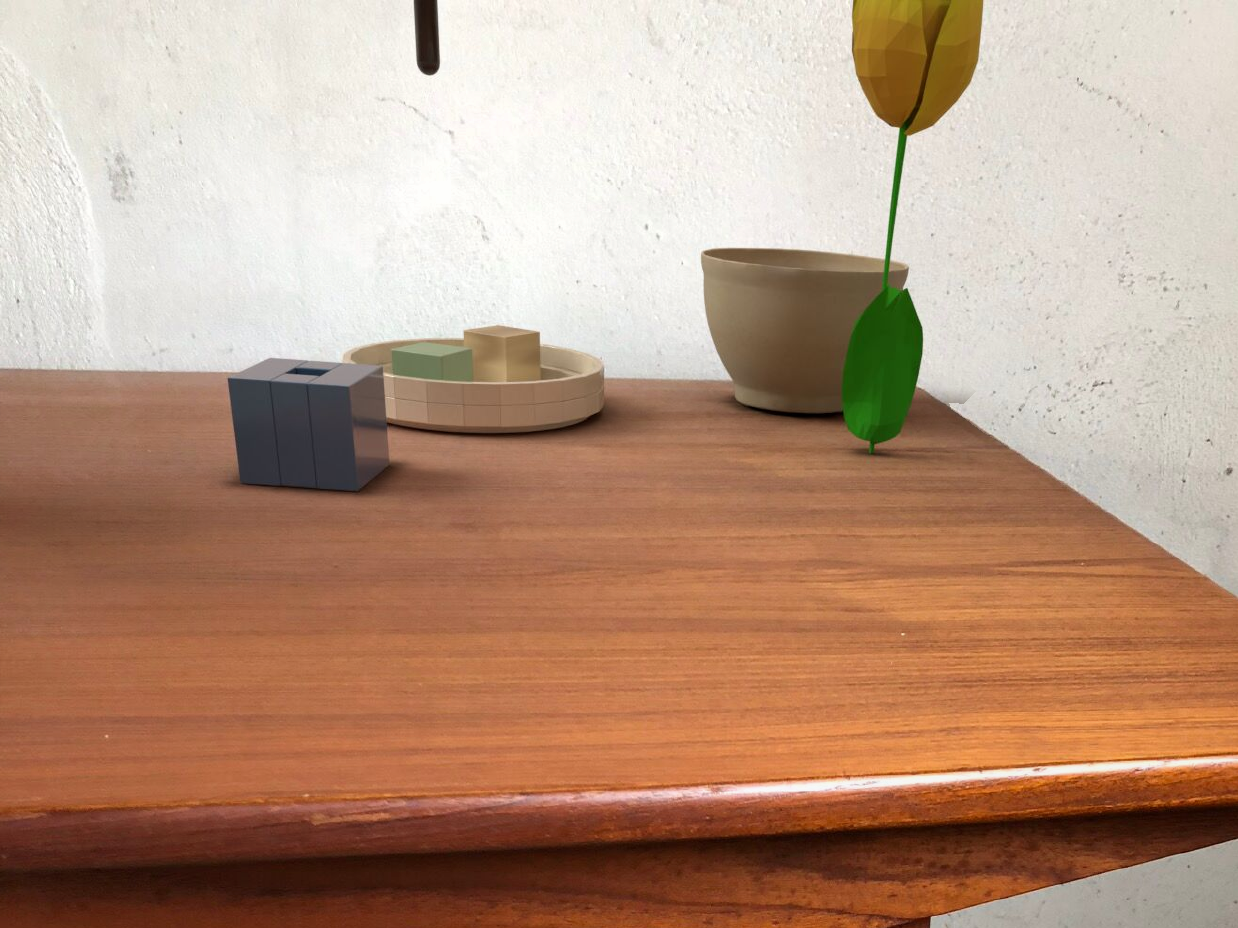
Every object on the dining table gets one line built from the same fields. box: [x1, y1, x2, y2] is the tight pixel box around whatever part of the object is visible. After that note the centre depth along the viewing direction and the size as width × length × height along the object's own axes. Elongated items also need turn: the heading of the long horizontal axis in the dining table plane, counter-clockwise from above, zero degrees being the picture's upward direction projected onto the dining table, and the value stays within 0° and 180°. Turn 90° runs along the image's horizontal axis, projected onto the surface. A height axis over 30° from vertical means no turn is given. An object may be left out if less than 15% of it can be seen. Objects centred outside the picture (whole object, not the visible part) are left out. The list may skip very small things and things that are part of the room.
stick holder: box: [227, 357, 391, 492], centre depth 87 cm, size 7×7×6 cm
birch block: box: [462, 324, 541, 382], centre depth 111 cm, size 4×4×4 cm
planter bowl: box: [700, 247, 910, 414], centre depth 112 cm, size 16×16×11 cm
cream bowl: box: [341, 337, 605, 434], centre depth 107 cm, size 19×19×4 cm
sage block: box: [391, 342, 474, 382], centre depth 102 cm, size 4×4×4 cm
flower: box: [842, 0, 984, 454], centre depth 94 cm, size 9×8×30 cm
